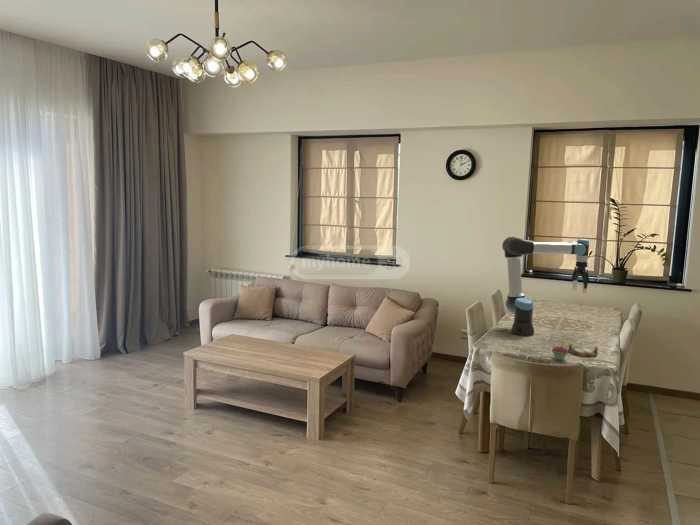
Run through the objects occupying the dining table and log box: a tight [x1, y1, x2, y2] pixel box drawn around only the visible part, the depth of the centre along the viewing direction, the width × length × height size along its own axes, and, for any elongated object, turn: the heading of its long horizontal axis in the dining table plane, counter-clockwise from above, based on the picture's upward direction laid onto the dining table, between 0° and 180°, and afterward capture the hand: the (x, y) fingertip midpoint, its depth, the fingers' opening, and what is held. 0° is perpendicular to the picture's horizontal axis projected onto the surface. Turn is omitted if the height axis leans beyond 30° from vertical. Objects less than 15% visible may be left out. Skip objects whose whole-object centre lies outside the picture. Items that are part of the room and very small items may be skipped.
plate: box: [567, 343, 599, 358], centre depth 313 cm, size 16×16×4 cm
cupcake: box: [551, 338, 569, 361], centre depth 301 cm, size 9×8×12 cm
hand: (579, 291), depth 369 cm, fingers open, 13 cm apart
